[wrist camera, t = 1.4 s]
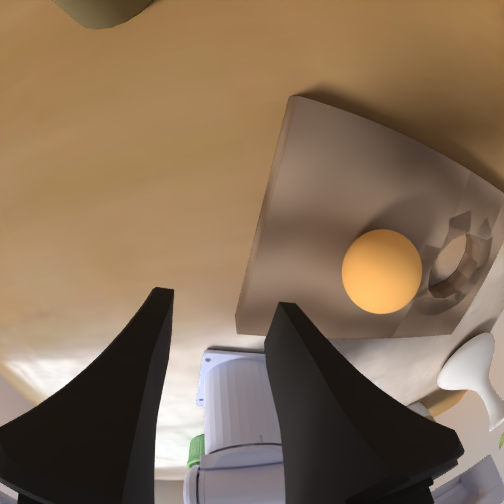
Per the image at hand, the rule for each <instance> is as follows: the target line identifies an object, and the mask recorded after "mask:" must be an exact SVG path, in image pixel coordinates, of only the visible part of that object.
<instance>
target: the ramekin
mask: <svg viewBox="0 0 504 504" xmlns="http://www.w3.org/2000/svg"><path fill="white" fill-rule="evenodd" d="M200 455H205V435H200V436H197V437H195V438H194V439H192V440H191V442H190V450H189V460H188V462H187V467H188V468H189V469H191V468H192V466H194V465H200Z"/></svg>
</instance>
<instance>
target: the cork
mask: <svg viewBox="0 0 504 504" xmlns="http://www.w3.org/2000/svg"><path fill="white" fill-rule="evenodd" d="M52 1H53V2H55V3H56V4H57V5H58V6H59V7H60V8H62V9H63V10H64V11H65V12H66V13H67V14H69V15H70V16H71V17H72V18H73V19H74V20H75V21H77V22H78V23H79V24H81V25H83V26H84V27H86V28H92V29H104V28H111V27H114V26H116V25H119V24H121V23H124V22H126V21H128V20H129V19H131V18H133V17H134V16H136V15H137V14H139V13H140V12H141V11H142V10H143V9H144V8H145V7H146V6H147V5H148V4H150V3H151V1H152V0H52Z"/></svg>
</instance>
